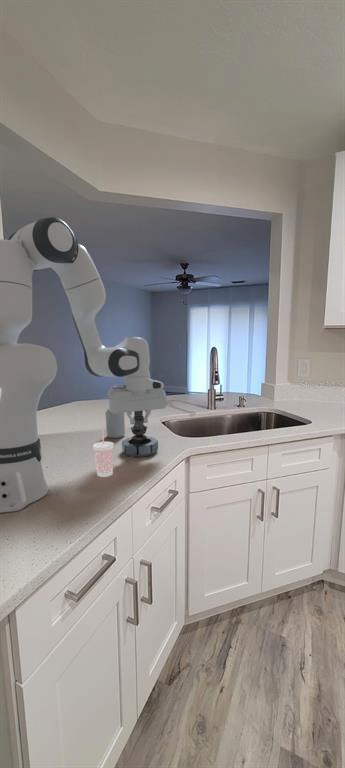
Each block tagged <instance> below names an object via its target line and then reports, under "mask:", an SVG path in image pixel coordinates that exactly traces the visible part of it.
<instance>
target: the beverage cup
mask: <svg viewBox="0 0 345 768" xmlns="http://www.w3.org/2000/svg"><path fill="white" fill-rule="evenodd" d="M104 434H105V433H104V427H101V436H102V437H101V439H102V441H99V442H96V443H94V444H93V445H92V449H93V451H94V460H95V468H96V475H97V477H100V478H107V477H109V476H112V475H113V474H114V470H113V467H114V460H113V459H114V448H115V446H114V445H115V443H114V442H113V441H105V435H104Z"/></svg>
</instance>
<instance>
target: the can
mask: <svg viewBox="0 0 345 768" xmlns="http://www.w3.org/2000/svg"><path fill="white" fill-rule="evenodd" d="M106 409H107V410H106V411H105V424H106V425H105V429H106V436H107V437H108V438H109V439H121V438H122V437H124V436H125V435H126V425H125V412H124V413H114V414H113V413H111V412H110V411H109V407H107V408H106Z"/></svg>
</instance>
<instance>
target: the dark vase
mask: <svg viewBox="0 0 345 768" xmlns="http://www.w3.org/2000/svg"><path fill="white" fill-rule="evenodd" d="M133 413H134V416H133V417H132V418H134V419H135V424H133V426H131V427H130V430H131V432H132V434H133V435H132V436H131V437H132V439H135V440H142V439H145V438H147V437H148V436H147V435H145V434H146V433H147V429H148V426H146V425H145V423H143V418H144V417H145V415H143V414H144V413H143V411H134V412H133Z"/></svg>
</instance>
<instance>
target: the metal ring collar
mask: <svg viewBox="0 0 345 768" xmlns="http://www.w3.org/2000/svg"><path fill="white" fill-rule="evenodd" d="M132 437H133V436H131V437H128V438H126V439H124V440H122V441H121V450H122V454H123V455H124V456H126V457H130V458H147V457H150V456H154V455H156V454H157V453H158V450H159V440H158V439H156V438H155V437H152V436H147V438H145V439H142V440H135V439H132Z"/></svg>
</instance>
